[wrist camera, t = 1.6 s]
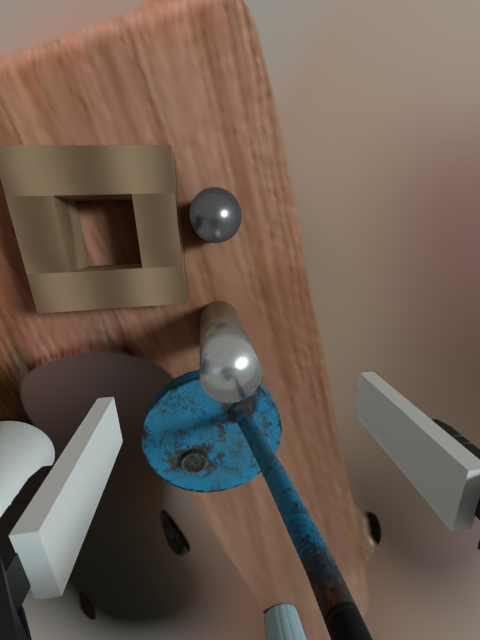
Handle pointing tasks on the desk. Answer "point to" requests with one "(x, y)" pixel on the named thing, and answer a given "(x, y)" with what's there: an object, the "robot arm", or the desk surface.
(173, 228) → the tan square frame
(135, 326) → the desk surface
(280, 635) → the cup
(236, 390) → the tall pin
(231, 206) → the stub pin
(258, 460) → the desk lamp
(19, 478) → the beverage can
